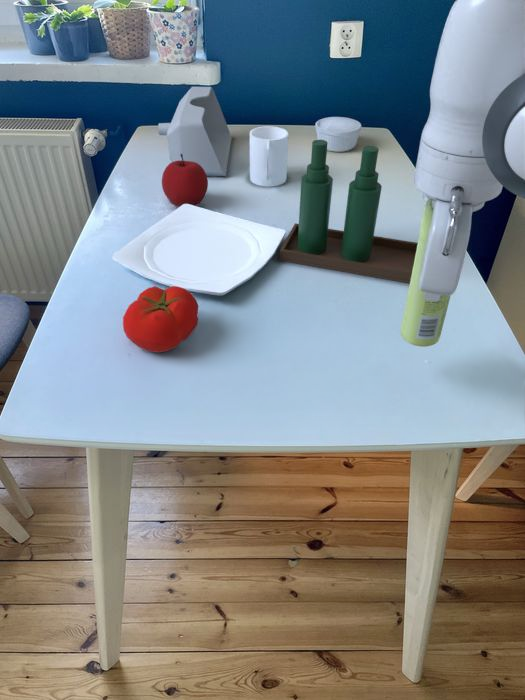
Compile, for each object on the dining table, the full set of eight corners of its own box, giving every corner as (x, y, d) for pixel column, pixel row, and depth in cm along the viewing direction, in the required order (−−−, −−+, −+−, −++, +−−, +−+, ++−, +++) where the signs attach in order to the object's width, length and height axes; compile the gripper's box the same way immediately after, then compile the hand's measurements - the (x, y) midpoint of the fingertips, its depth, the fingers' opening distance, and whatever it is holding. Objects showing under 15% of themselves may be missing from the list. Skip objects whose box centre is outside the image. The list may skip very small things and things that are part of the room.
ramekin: (308, 139, 139) (309, 118, 135) (349, 135, 141) (351, 114, 137) (322, 155, 130) (324, 133, 127) (365, 151, 133) (368, 130, 129)
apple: (157, 210, 109) (151, 162, 102) (173, 191, 115) (168, 144, 109) (200, 216, 107) (197, 167, 101) (214, 196, 114) (212, 149, 107)
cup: (248, 193, 115) (247, 146, 108) (250, 170, 124) (250, 125, 117) (286, 194, 115) (288, 147, 108) (286, 171, 124) (288, 126, 117)
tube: (403, 318, 72) (431, 177, 59) (442, 325, 71) (479, 183, 58) (397, 344, 68) (425, 199, 55) (438, 352, 67) (477, 206, 54)
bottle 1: (328, 242, 99) (339, 138, 86) (322, 257, 95) (332, 150, 82) (301, 238, 100) (307, 134, 87) (294, 252, 96) (299, 146, 84)
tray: (429, 255, 97) (432, 244, 96) (424, 286, 90) (427, 275, 88) (294, 233, 102) (294, 223, 101) (279, 260, 95) (279, 250, 94)
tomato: (116, 350, 77) (108, 314, 73) (153, 306, 85) (148, 271, 80) (177, 366, 75) (172, 330, 70) (210, 320, 82) (207, 285, 78)
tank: (169, 136, 139) (164, 84, 131) (231, 137, 139) (230, 85, 131) (153, 177, 121) (146, 120, 112) (225, 178, 120) (222, 120, 112)
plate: (294, 242, 100) (295, 229, 98) (226, 313, 84) (225, 299, 82) (184, 211, 108) (183, 199, 107) (103, 271, 92) (100, 257, 90)
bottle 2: (372, 250, 97) (389, 144, 84) (367, 265, 93) (385, 157, 81) (344, 245, 98) (356, 140, 85) (338, 260, 94) (350, 152, 82)
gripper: (493, 219, 47) (457, 341, 56) (492, 137, 61) (464, 244, 70) (419, 210, 48) (395, 330, 57) (435, 132, 63) (415, 238, 72)
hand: (433, 282), depth 64 cm, fingers closed on tube, 5 cm apart
